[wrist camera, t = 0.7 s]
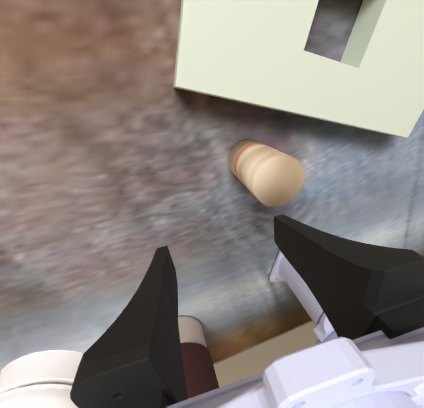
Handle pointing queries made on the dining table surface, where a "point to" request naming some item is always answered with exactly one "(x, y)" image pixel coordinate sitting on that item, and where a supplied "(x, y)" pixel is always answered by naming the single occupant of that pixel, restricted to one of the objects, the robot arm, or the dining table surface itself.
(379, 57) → the board
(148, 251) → the dining table surface
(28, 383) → the honey pot
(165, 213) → the dining table surface
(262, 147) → the peg
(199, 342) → the coffee cup
